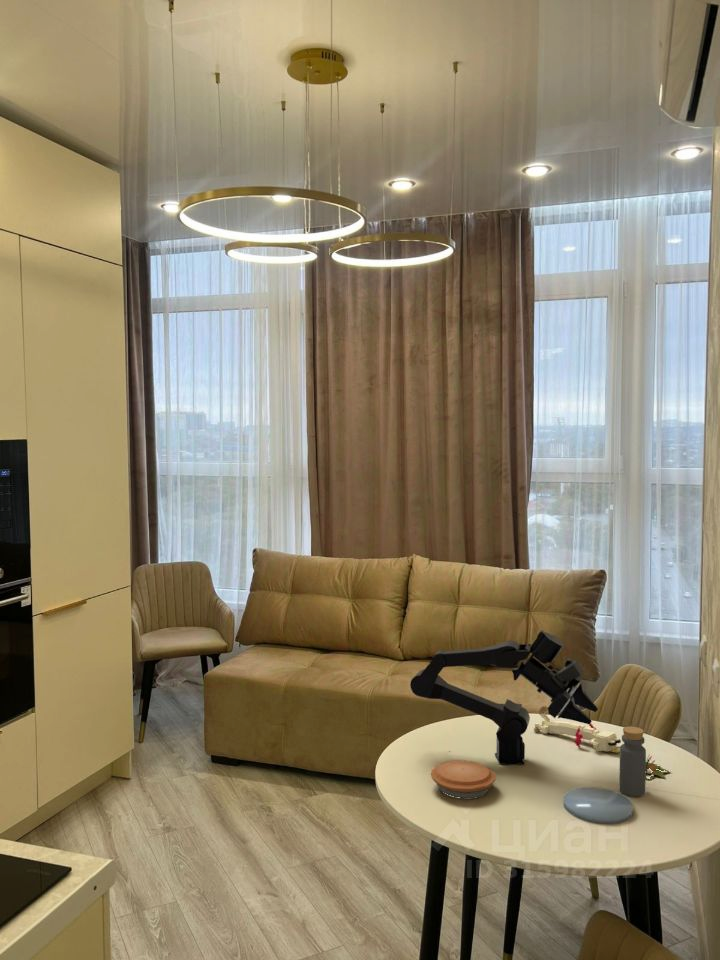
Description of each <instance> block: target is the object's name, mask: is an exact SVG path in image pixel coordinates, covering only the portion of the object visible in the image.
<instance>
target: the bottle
mask: <svg viewBox="0 0 720 960" xmlns="http://www.w3.org/2000/svg"><path fill="white" fill-rule="evenodd" d="M622 732H623V734H622V735H621V741H622V742H623V743H622V744H621V745H620V746H619V747H620V749H619V778H618V779H619V783H618V784H619V792H620V794H622V795H623V796H627V797H630V798H631V797H633V798H640V797H641V798H642V797H643V796H645V794H646V780H647V779H646V774H647V771H646V762H647V750H646V748H645V747H644V746H643V745H644V744H645V737H644V733H645V731H644V729H642V728H641V727H637V726H625V727H623V728H622Z"/></svg>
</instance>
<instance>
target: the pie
mask: <svg viewBox="0 0 720 960" xmlns="http://www.w3.org/2000/svg"><path fill="white" fill-rule="evenodd" d="M429 775H430V777H431V779H432V780H433V782H434V783H435V784H436V786H437V787H438V789H439V790H441V791H442V792H444V793H446V794H448V795H451V796H454V797H460V798H475V797H478V798H481V797H482V795H483V796H485V794H486V793H487V792H488V791H489V789H490V787H491V786H492V785H493V783H495V782H496V780H497V776H496V774H495V772H494V771H493V770H492V769H491V768H489V767H486V766H485V765H483V764H481V763H478V762H475V761H469V760H450V761H446V762H443V763H441V764H438V765H436V766H435V767H434V768H432V769H431V772H430V774H429ZM441 791H440V792H441ZM442 792H441V793H442ZM444 793H443V794H444ZM480 796H481V797H480ZM475 799H476V798H475Z"/></svg>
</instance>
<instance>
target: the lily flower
mask: <svg viewBox="0 0 720 960" xmlns="http://www.w3.org/2000/svg"><path fill="white" fill-rule="evenodd" d="M652 757H653V755H651V756H650V754H648V756H647V757H646V772H647V771H648V770H649V768H650V769H651V770H652V771H653V772H652V773H651V772H647V774H650V775H651V774H654V776H651V777H650V779H649V780H648V779H647V778H646V779H645V780H648V781H650V780H652V779H654V778H655V777H656V776H658V777H661V778H663V779H666V777H665V775H664V774H667V773H669V774H670V772H669V771H670V770H667V769H665V768H660V767H661V765H660V766H657V765H658V764H655V762H656V760H652ZM651 760H652V762H651V763H650V761H651ZM656 769H659V770H661V771H664V770H665V771H667V772H661V771H659V770H656Z"/></svg>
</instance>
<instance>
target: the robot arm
mask: <svg viewBox="0 0 720 960" xmlns="http://www.w3.org/2000/svg"><path fill="white" fill-rule="evenodd" d="M564 646H565V644H564V643H563V641H562V640H561V639H560V638H558V637H557V636H556V635H555V634H551V633H548V632H545V631H544V630H543V629H541V630H540V631H539V632H538V633H537V636H536V638H535V639H534V641H533V642H532V643H518V642H517V641H515V640H507V641H504V642H499V643H496V644H494V645H491V646H487V647H479V648H478V647H476V648H468V649H467V648H464V649H454V650H452V649H451V650H444V649H443V650H438V651H437V652H436V653H435V654H434V655H433V658H432V659H431V661H430V662H429V664H427V665H426V667H425V668H424V669H421V670H419V671H418V672H417V673H416V674H415V675H414V676H413V678H411V681H410V689H411V692H412V694H414V695H415V696H417V697H418V698H419V697H420V698H425V699H428V700H442V701H444V702H447V703H449V704H451V705H454V706H457V707H459V708H461V709H464V710H466V711H469V712H471V713H473V714H477V715H479V716H480V717H484V718H485V719H488V720H491V721H492V722H493V723H494V724H496V725H497V726H498V728H497V731H496V733H495V736H496V752H495V753H494V756H495V758H496V760H497V762H498V764H499V765H524V764H525V760H524V759H525V757H526V755H525V754H526V753H525V752H526V751H525V749H526V747H525V746H526V744H525V741H524V740H523V739H524V738H523V737H522V735H523V734H524V733H525V732H527V729H528V726H529V723H530V721H531V716H530V714H529V711H528V710H527V709H526V708H525V707H523V704H522V703H516V702H513V701H512V700H510V699H506V701H505V703H498V702H495V701H492V700H489V699H487V698H485V697H483V696H480V695H477V694H475V693H472V692H470V691H467V690H465V689H462V688H460V687H457V686H455V685H452V684H450V683H448V682H447V681H446V680H445V679H443V677H442V676H440V675H439V674H440V673H441V672H442V671H443V669H444V668H450V667H463V666H466V667H467V666H479V665H491V666H494V667H498V668H508V669H509V668H510V669H511V668H512V669H511V672H512V677H513V681H517V680H518V679H519V678H520V677H523V678H524V679H526V680H527V681H528V682H529V683H531V684H532V685H533V686H535V687H536V688H537V690H536V691H537V693H539V694H541V692H542V693H544V694H545V695H547V696H548V697H549V698H551V699H550V702H551V703H550V704H549V705H548V707H547V709H548V710H547V711H548V714H549V715H550V716H551V717H552V718H554V719H556V718H557V719H566V720H570V721H574V722H578V723H582V724H584V725H586V724H587V725H589V724H590V723H591V724H592V719H591V718H590V717H589V716H588V715H587V714H586V713H584V711H583V710H582V709H580V708H579V707H581V708H584V709H585V710H589V711H592V712H594V713H597V712H598V710H599V708H598V706H597V705H596V704H595V703H594V702H593V700H592V699H591V698H590V696H589V695H588V694H587V692H585V689H584V681H583V680H582V679H583V678H582V677H581V676H582V673H583V672H584V670H583V669H582V667H581V666H580V665H581V662H578V661H577V659H575V660H574V659H572V658H568V659H567V660H565V662H564V667H563V668H562V669H559V670H558V669H557V668H551V669H550V668H549V667H547V666H546V665H547V664H552V663H553V661H554V660H555V659H556V658H557V656H558V655H559V653H560V652H561V651H562V649H563V648H564ZM530 654H531V655H530ZM529 656H530V657H529ZM528 657H529V658H528ZM527 658H528V659H527ZM518 664H519V665H518ZM516 666H517V667H516Z"/></svg>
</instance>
